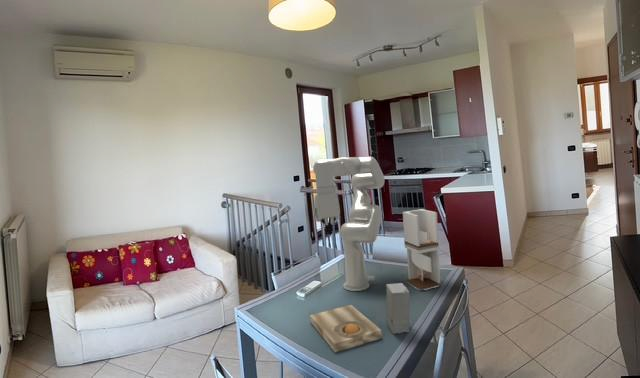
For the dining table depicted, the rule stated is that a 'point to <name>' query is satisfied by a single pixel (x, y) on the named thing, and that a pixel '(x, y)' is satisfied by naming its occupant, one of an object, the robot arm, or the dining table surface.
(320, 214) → the robot arm
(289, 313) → the dining table surface
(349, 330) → the ball
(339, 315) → the block
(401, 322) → the skincare box
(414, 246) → the display case
